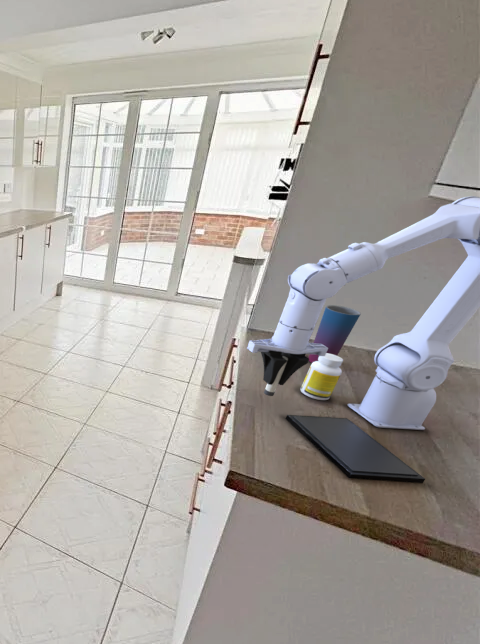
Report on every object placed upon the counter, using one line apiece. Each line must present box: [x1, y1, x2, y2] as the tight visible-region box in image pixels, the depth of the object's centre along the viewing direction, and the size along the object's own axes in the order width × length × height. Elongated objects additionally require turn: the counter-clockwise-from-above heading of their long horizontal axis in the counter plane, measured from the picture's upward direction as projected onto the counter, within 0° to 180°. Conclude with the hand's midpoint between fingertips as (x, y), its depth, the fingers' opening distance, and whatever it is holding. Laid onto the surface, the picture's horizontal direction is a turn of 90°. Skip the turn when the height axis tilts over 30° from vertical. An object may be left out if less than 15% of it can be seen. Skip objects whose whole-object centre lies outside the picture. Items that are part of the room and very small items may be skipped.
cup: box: [307, 304, 362, 364], centre depth 106 cm, size 7×7×15 cm
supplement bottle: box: [300, 353, 344, 401], centre depth 92 cm, size 5×5×10 cm
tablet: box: [285, 414, 426, 484], centre depth 77 cm, size 12×17×1 cm
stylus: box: [263, 356, 288, 397], centre depth 87 cm, size 2×2×9 cm
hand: (273, 382), depth 88 cm, fingers closed on stylus, 2 cm apart
